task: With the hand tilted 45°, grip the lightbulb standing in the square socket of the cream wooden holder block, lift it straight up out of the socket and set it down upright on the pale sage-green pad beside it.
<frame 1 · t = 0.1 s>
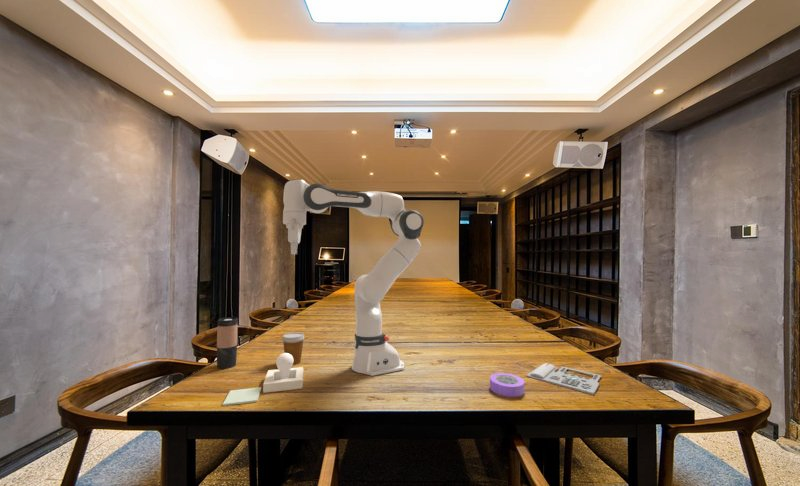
hand: (294, 254, 124), 48 cm above the table, tool pointing down, fingers open, 8 cm apart
travel mug: (226, 366, 132), on the table
lightbulb: (284, 383, 115), resting in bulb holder
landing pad: (243, 396, 104), on the table
disposable coffee cup: (293, 362, 137), on the table
masking tape: (506, 390, 111), on the table
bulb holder: (284, 383, 115), on the table
office telephone: (565, 379, 122), on the table
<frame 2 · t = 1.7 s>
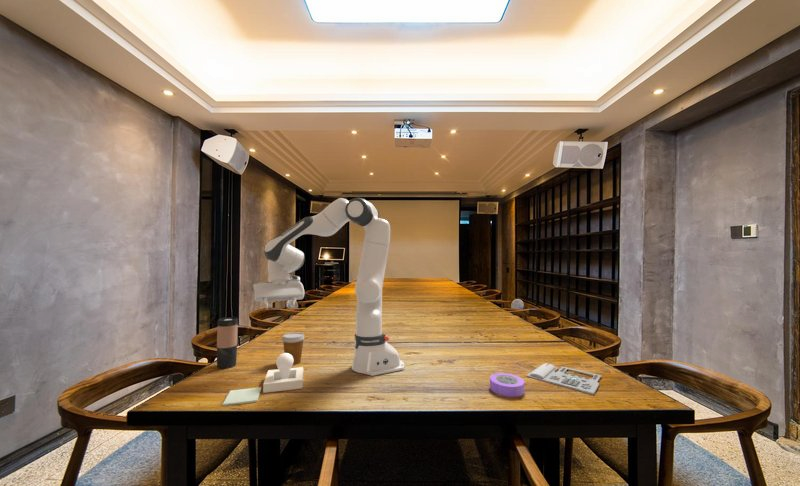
hand: (280, 307, 129), 26 cm above the table, tool tilted 45°, fingers open, 8 cm apart
nothing on the table moved.
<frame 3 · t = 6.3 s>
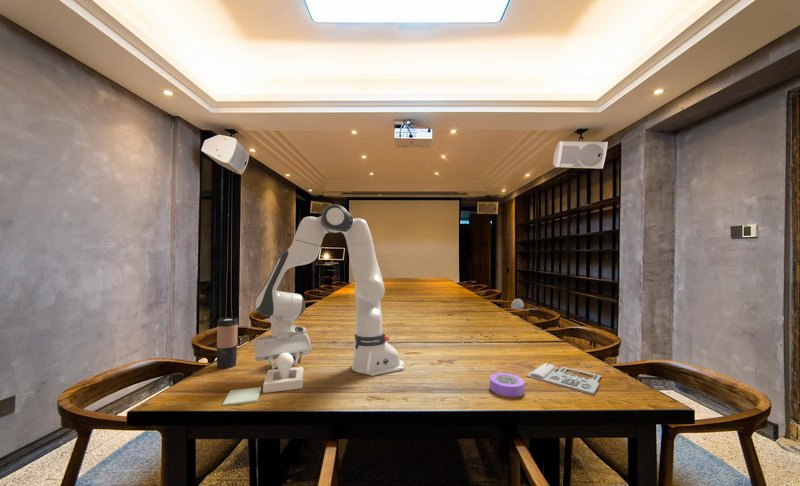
hand: (285, 367, 115), 6 cm above the table, tool tilted 45°, fingers closed on lightbulb, 6 cm apart
lightbulb: (284, 383, 115), resting in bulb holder, touching gripper
everything else where it was.
when the fingers open (8 cm above the table, at t = 11.8 s): lightbulb moves 1 cm, resting on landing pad.
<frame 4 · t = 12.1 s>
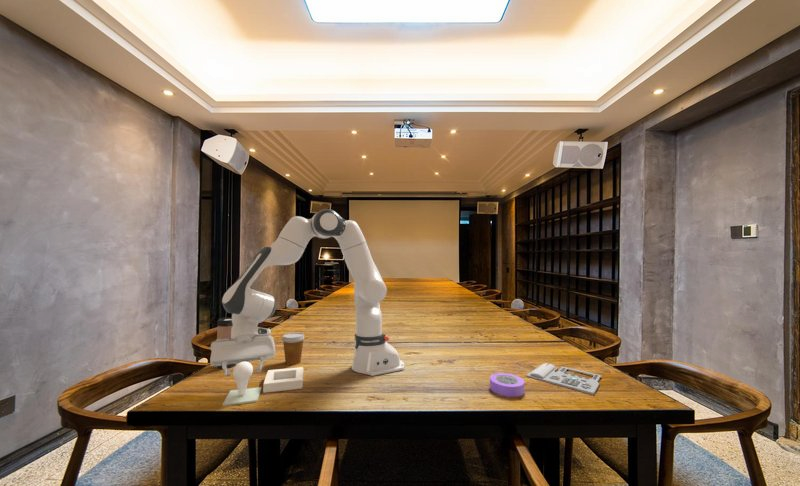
hand: (243, 373, 103), 8 cm above the table, tool tilted 45°, fingers open, 8 cm apart
lightbulb: (241, 395, 104), resting on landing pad
everything else where it was.
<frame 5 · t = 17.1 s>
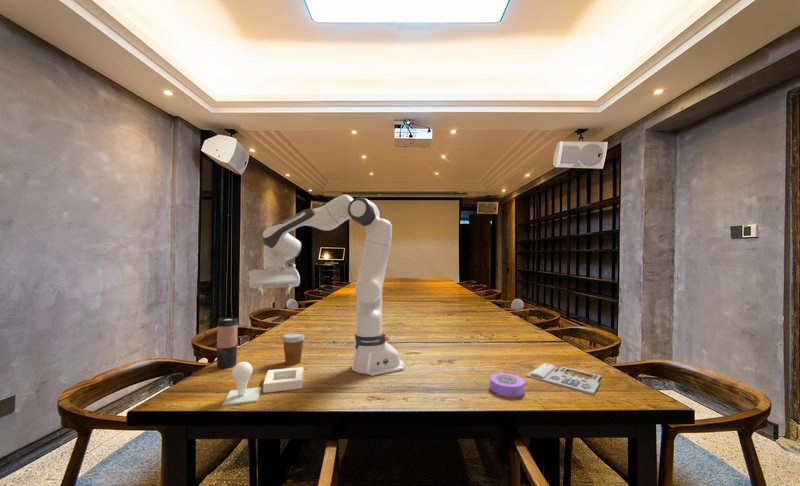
hand: (275, 293, 128), 31 cm above the table, tool tilted 45°, fingers open, 8 cm apart
nothing on the table moved.
at the end: lightbulb 0.4 cm off-centre on the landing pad, point 0.4 cm above the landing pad's base; lightbulb tilted 0°; the gripper is holding nothing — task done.
